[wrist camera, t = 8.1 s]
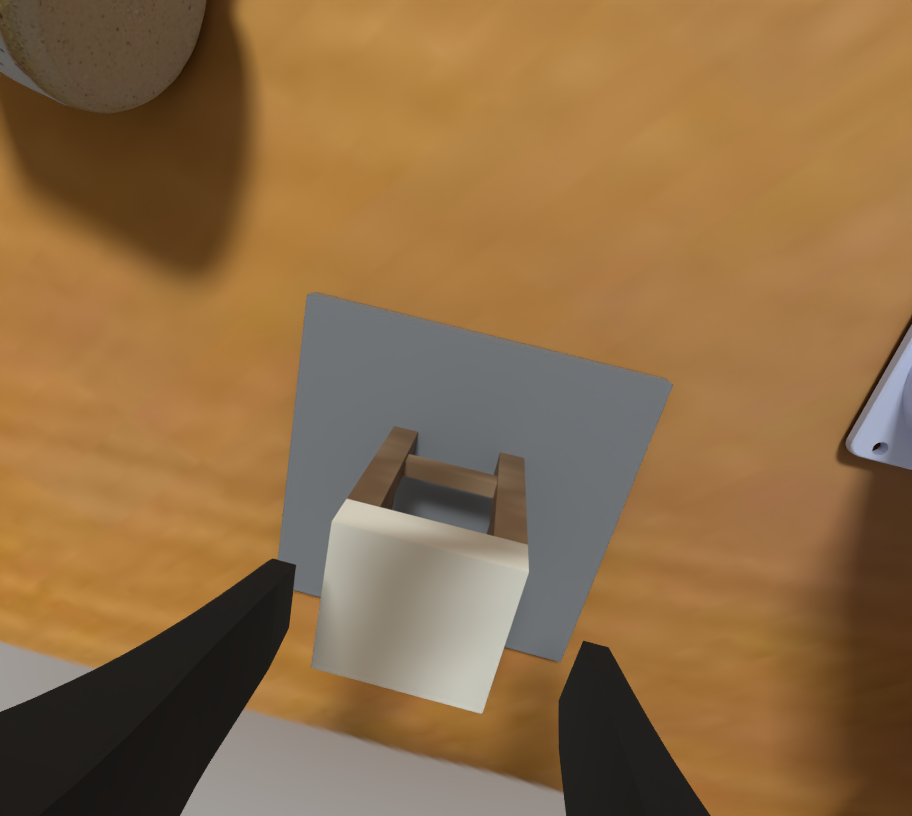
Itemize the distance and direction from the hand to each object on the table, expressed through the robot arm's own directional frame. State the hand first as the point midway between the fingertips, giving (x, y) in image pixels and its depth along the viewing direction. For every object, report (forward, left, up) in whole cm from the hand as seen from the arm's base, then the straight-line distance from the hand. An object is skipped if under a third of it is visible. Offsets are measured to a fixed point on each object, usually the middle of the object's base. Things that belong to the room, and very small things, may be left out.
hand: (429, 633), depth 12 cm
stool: (+1, +1, -9) cm, 9 cm away
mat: (0, +1, -9) cm, 9 cm away
